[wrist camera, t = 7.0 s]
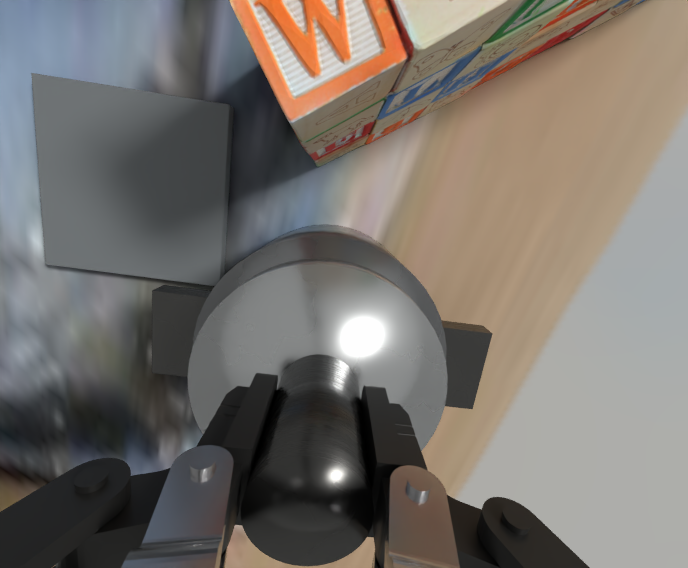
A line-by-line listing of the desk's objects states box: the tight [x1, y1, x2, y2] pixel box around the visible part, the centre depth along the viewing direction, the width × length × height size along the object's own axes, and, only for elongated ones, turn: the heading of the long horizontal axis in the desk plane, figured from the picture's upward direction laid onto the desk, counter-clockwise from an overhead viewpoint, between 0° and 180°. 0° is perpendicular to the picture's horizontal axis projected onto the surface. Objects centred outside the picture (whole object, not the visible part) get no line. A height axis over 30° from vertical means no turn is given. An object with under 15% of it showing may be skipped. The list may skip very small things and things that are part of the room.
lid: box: [188, 258, 448, 566], centre depth 10 cm, size 10×10×6 cm
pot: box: [152, 225, 492, 409], centre depth 18 cm, size 11×15×7 cm
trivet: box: [32, 73, 234, 286], centre depth 19 cm, size 10×10×1 cm
